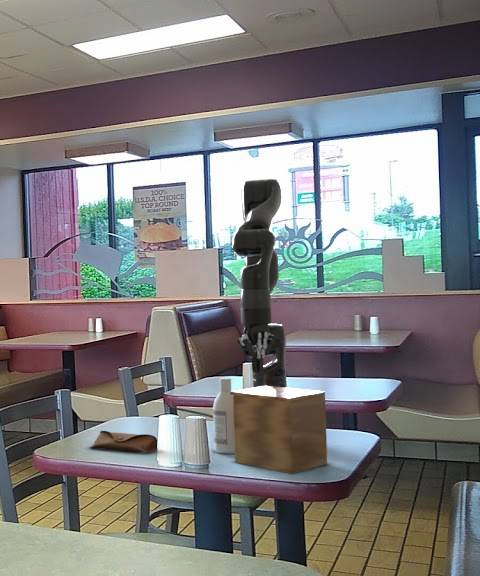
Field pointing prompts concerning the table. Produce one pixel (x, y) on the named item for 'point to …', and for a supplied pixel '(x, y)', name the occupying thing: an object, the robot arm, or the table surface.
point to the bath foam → (224, 419)
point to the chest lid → (277, 393)
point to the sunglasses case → (125, 442)
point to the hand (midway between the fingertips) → (257, 372)
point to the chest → (280, 433)
